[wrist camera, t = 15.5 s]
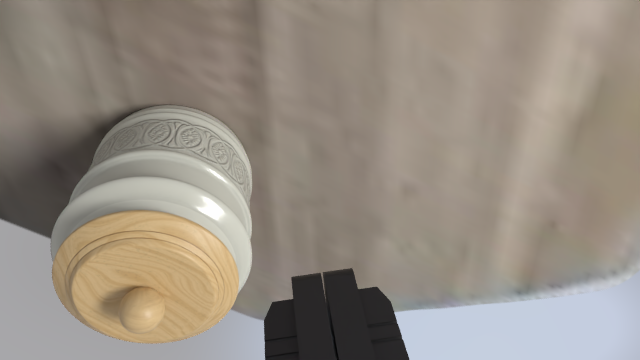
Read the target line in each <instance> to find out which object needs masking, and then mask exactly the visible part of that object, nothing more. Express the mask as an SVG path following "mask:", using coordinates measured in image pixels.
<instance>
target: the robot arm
mask: <svg viewBox="0 0 640 360" xmlns="http://www.w3.org/2000/svg"><path fill="white" fill-rule="evenodd" d="M323 280H324V289H325V295H324V289H323V283H322V278H321V273H316V274H309V275H302V276H295V277H292V289H293V299H290V300H283V301H277V302H272V304H271V306H270V309H269V311H268V313H267V315H266V317H265V320H264V334H265V360H409V357H408V354H407V351H406V348H405V345H404V342H403V340H402V335H401V333H400V329H399V326H398V324H397V320H396V317H395V314H394V311H393V308H392V304H391V302H390V300H389V299H388V298H387V297H386V296H385V295H384V294H383V293H382V292H381V291H380V290H379V288H378V287H372V288H365V289H358V288H357V284H356V280H355V276H354V272H353V269H352V268H350V269H343V270H336V271H329V272H323ZM325 299H326V301H325Z"/></svg>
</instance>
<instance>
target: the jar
mask: <svg viewBox="0 0 640 360" xmlns="http://www.w3.org/2000/svg"><path fill="white" fill-rule="evenodd" d="M251 191H252V172H251V166H250V162H249V160H248V157H247V155H246V152H245V150H244V148H243V146H242V144H241V142H240V141H239V139H238V138H237V136H236V135H235V134H234V133H233V132H232V131H231V130H230V129H229V128H228V127H227V126H226V125H225V124H224V123H222V122H221V121H220V120H218V119H217V118H215V117H213V116H211V115H209V114H207V113H205V112H203V111H200V110H197V109H194V108H190V107H185V106H178V105H160V106H153V107H149V108H145V109H142V110H139V111H137V112H135V113H133V114H131V115H129V116H128V117H126V118H125V119H123V120H122V121H120V122H119V123H118V124H116V125H115V126H114V127H113V128H112V129H111V130H110V131H109V132H108V133H107V134H106V135H105V137H104V138H103V140H102V141H101V143H100V145H99V146H98V148H97V150H96V152H95V155H94V158H93V162H92V164H91V166H90V168H89V170H88V172H87V173H86V174H85V175H84V176H83V177H82V179H81V180H80V181H79V182H78V184H77V185H76V187H75V189H74V191H73V193H72V195H71V198H70V201H69V204H68V205H67V206H66V207H65V209H64V210H63V211H62V213H61V214H60V215H59V217H58V219H57V221H56V223H55V225H54V228H53V231H52V236H51V255H52V259H53V268H52V279H53V284H54V288H55V291H56V293H57V295H58V297H59V299H60V301H61V302H62V304H63V305H64V306H65V308H66V309H67V310H68V311H69V312H70V313H71V314H72V315H73V316H74V317H75V318H77V319H78V320H79V321H80V322H82V323H83V324H85V325H86V326H88V327H89V328H91V329H93V330H95V331H97V332H99V333H102V334H104V335H107V336H109V337H112V338H116V339H119V340H124V341H129V342H137V343H151V344H153V343H167V342H174V341H179V340H183V339H187V338H190V337H193V336H196V335H198V334H200V333H202V332H204V331H206V330H208V329H209V328H211V327H212V326H214V325H215V324H217V323H218V322H219V321H220V320H221V319H222V318H223V317H224V316H225V315H226V314H227V313H228V312H229V310H230V309H231V307H232V306H233V304H234V302H235V299H236V296H237V294H238V293H239V291H240V290H241V289H242V287H243V286H244V284H245V282H246V280H247V278H248V275H249V273H250V269H251V264H252V248H251V243H250V239H251V233H252V221H251V215H250V196H251Z"/></svg>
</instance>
